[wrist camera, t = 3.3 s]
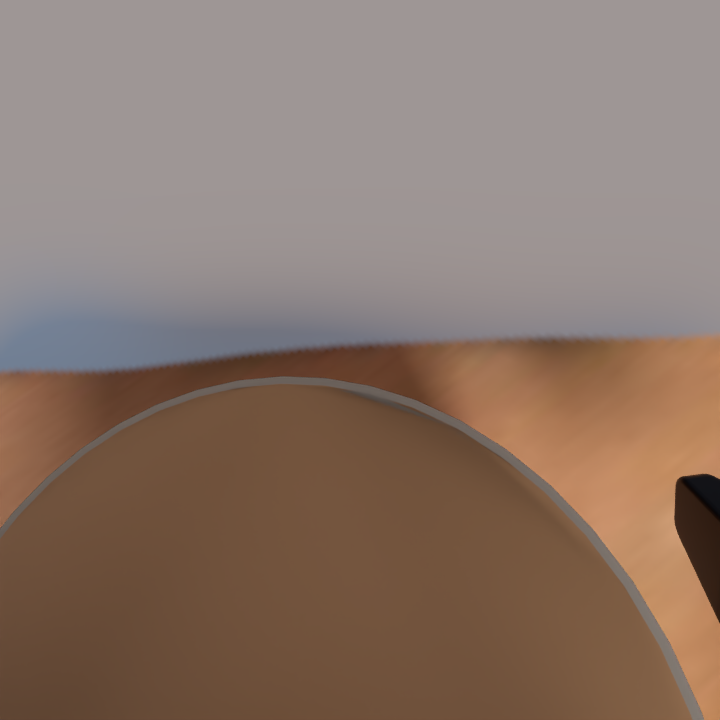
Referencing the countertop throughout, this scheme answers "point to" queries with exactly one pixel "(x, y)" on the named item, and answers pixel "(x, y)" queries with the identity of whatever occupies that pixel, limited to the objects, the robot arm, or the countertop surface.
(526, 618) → the tan lidded canister
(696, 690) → the countertop surface
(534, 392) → the countertop surface
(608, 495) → the countertop surface
